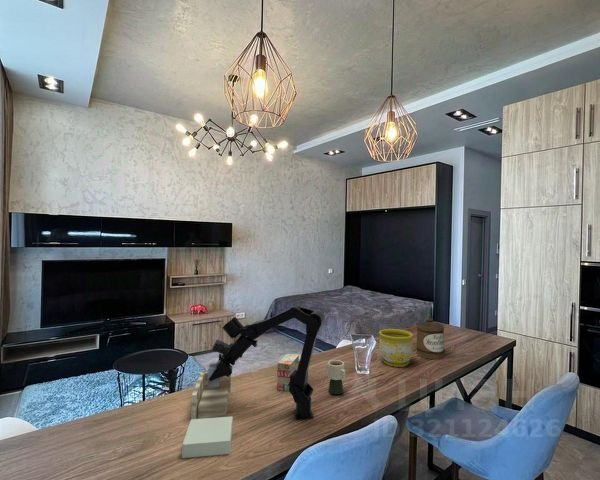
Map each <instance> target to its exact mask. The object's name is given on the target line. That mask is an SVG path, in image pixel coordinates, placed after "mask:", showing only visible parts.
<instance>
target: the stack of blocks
mask: <svg viewBox="0 0 600 480" xmlns="http://www.w3.org/2000/svg"><path fill="white" fill-rule="evenodd" d="M300 358H301V354H297V353H285V355H284V356H283V357H282V358H281V359H280V360H279V361H277V370H276V371H277V378H276V379H277V383H276V384H277V386H276V387H277V390H278V391H282V392H289V393H290V391H289V386H288V384H289V382H290V376H291V374H292V373H293V371H294V370H297V369H298V365H299V361H300Z"/></svg>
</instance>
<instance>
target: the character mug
mask: <svg viewBox="0 0 600 480" xmlns="http://www.w3.org/2000/svg"><path fill="white" fill-rule="evenodd" d="M326 370H327V376H328V377H327V378H329V385H328V392H329V394H332V395H340V394H343V393H344V386H343V379H345V378H346V370H345V362H344V361H342V360H339V359H331V360H329V361H328V362H327V363H326Z"/></svg>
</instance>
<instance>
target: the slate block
mask: <svg viewBox="0 0 600 480" xmlns="http://www.w3.org/2000/svg"><path fill="white" fill-rule="evenodd" d="M216 364H217V362H209V365H208V368H207V371H208V387H215V386H219V383H220V378H217V379H215V380H212V381H210V380H209V378H210V376H211V375H212V374H213V372H214V371H215V369H216Z"/></svg>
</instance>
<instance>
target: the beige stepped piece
mask: <svg viewBox="0 0 600 480" xmlns="http://www.w3.org/2000/svg"><path fill="white" fill-rule="evenodd" d="M231 377H232V374H231V375H230V376H229V377H227V376H223V377H220V383H219V386H215V387H208V370H207V371H201V372H200V374H199V376H198V379H197V381H196V384H195V386H194V389H193V391H192V394H191V416H190V418H191V419H204V418H217V417H227V411H228V410H227V409H228V402H229V393H230V394H231V388H232V387H231V385H232V384H231V383H232V381H231V380H232V379H231ZM191 419H190V420H191Z"/></svg>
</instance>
